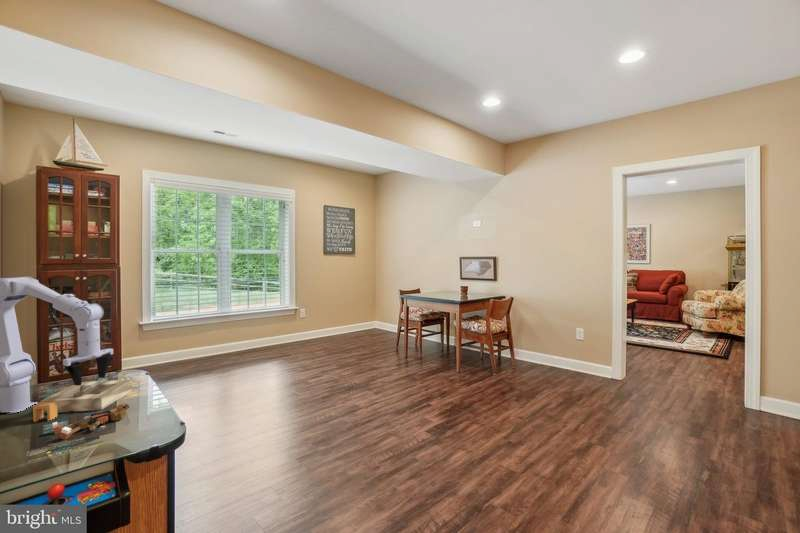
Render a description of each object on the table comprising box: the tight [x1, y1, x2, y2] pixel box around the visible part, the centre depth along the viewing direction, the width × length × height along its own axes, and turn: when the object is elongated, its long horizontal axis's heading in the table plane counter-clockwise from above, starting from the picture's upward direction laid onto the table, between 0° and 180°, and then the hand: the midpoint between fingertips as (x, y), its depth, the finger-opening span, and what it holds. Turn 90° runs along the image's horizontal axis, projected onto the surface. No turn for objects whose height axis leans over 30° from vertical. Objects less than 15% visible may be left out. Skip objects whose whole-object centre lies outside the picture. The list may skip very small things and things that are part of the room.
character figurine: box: [52, 403, 130, 440], centre depth 112 cm, size 10×18×4 cm, turn 146°
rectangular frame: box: [39, 379, 133, 414], centre depth 131 cm, size 18×18×5 cm
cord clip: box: [32, 401, 58, 423], centre depth 116 cm, size 5×3×5 cm, turn 99°
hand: (90, 381), depth 124 cm, fingers open, 7 cm apart
